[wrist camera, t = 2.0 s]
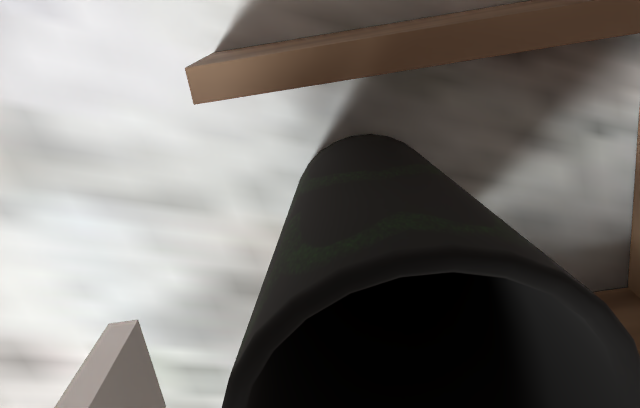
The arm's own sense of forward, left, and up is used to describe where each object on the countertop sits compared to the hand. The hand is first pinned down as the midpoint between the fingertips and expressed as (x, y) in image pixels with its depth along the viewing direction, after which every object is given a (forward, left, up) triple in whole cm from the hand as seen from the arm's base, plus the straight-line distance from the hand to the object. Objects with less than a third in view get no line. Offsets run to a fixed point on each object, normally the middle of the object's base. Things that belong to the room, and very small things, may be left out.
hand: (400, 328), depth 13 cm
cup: (0, 0, -8) cm, 8 cm away
